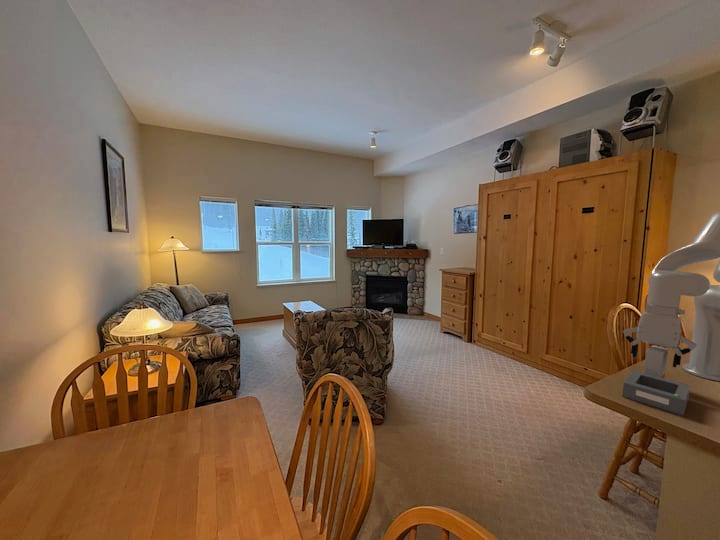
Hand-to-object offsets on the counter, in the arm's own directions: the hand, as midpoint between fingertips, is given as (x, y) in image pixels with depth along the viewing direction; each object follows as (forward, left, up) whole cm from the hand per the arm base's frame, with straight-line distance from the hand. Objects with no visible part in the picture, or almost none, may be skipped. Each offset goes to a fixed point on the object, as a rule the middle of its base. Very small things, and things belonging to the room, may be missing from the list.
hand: (654, 361), depth 102 cm
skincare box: (-1, 0, -8) cm, 8 cm away
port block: (+11, +2, -8) cm, 14 cm away
